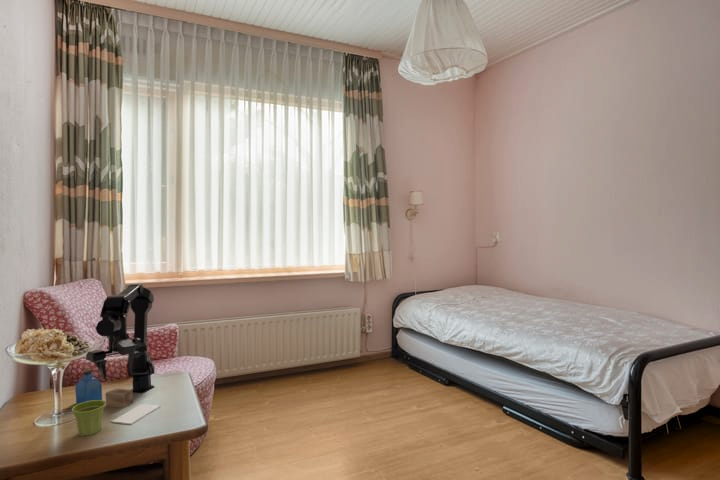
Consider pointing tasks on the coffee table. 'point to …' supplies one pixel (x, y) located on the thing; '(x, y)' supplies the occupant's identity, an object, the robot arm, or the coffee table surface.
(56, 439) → the coffee table surface
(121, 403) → the walnut block
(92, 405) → the plant pot
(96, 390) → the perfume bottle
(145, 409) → the placemat
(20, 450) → the coffee table surface
